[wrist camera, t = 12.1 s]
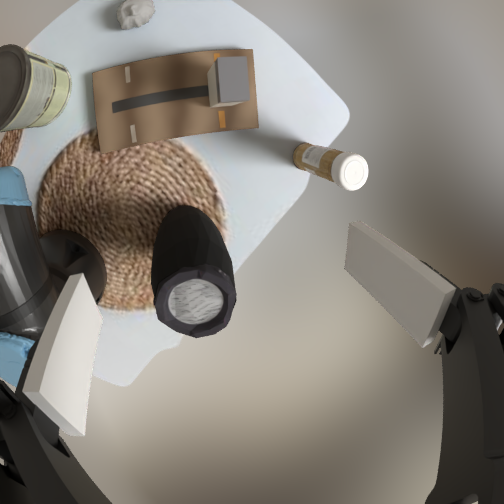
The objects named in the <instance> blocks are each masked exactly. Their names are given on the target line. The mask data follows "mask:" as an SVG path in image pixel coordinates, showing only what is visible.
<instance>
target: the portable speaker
mask: <svg viewBox="0 0 504 504" xmlns="http://www.w3.org/2000/svg"><path fill="white" fill-rule="evenodd" d="M151 285H152V289H153V294H154V301H153V303H154V305H155V308H156V312H157V313H156V314H157V317H158V320H160V321H161V322H162V323H164V324H165V325H167V326H168V327H170V328H171V329H173V330H175V331H176V332H179V333H182V334H185V335H189V336H192V337H195V338H199V337H204V336H209V335H213V334H216V333H217V332H219V331H220V330H222V329H223V328H225V327H226V326H227V324H228V322H229V321H230V318H231V314H232V311H233V308H234V305H235V303H236V290H235V283H234V274H233V266H232V261H231V258H230V256H229V253H228V251H227V248H226V246H225V243H224V241H223V238H222V236H221V233H220V232H219V230H218V229H217V227H216V226H215V224H214V223H213V221H212V220H211V219H210V218H209V217H208V216H207V215H206V214H205V213H203V212H202V211H201V210H200V209H197V208H195V207H192V206H178V207H176V208H174V209H173V210H171V211H169V213H168V214H167V215H166V216H165V218H164V219H163V221H162V223H161V225H160V228H159V230H158V233H157V236H156V240H155V244H154V248H153V257H152V267H151Z"/></svg>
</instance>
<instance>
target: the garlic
mask: <svg viewBox="0 0 504 504" xmlns="http://www.w3.org/2000/svg"><path fill="white" fill-rule="evenodd" d="M154 12H155V9H154V5H153V1H152V0H125V1H124V2H123V3H122V4H121V5H120V6H119V7H118V10H117V20H118V21H119V22H120V24H121V28H122V29H124V30H129V29H131V28H133V27H141V26H142V25H144V24H146V23H148V22H149V19H151V17H152V15H153V14H154Z"/></svg>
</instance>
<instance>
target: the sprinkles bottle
mask: <svg viewBox="0 0 504 504" xmlns="http://www.w3.org/2000/svg"><path fill="white" fill-rule="evenodd" d="M293 160H294V163H295V165H296V166H297V167H298V168H299V169H301V170H304V171H308V172H309V173H312V174H314V175H317V176H320V177H322V178H325V179H327V180H329V181H332V182H335V183H336V184H337V185H338V186H340V187H342V188H344V189H347V190H357V189H359V188H360V187H361V186H363V184H364V183H365V181H366V179H367V176H368V165H367V163H366V161H365V159H364V158H363V157H362V156H360V155H358V154H355V153H351V152H342V151H338V150H336V149H331V148H327V147H322V146H317V145H312V144H309V143H303V144H301V145H299V146H298V147H297V148H296V149H295V151H294V154H293Z"/></svg>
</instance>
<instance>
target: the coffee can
mask: <svg viewBox="0 0 504 504" xmlns="http://www.w3.org/2000/svg"><path fill="white" fill-rule="evenodd" d="M71 86H72V82H71V76H70V74H69V72H68V70H67V69H66V68H65V67H64V66H63V65H61V64H58V63H55V62H53V61H50V60H48V59H46V58H43V57H41V56H38V55H36V54H34V53H31V52H28V51H26V50H24V49H23V48H21V47H19V46H17V45H12V44H9V45H4V46H2V47H0V132H5V131H10V130H16V129H23V128H31V127H42V126H45V125H47V124H49V123H51V122H52V121H54V120H55V119H56V118H57V117H58V116H59V115H60V114H61V113H62V111H63V110H64V108H65V106H66V105H67V103H68V100H69V97H70V94H71Z"/></svg>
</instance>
